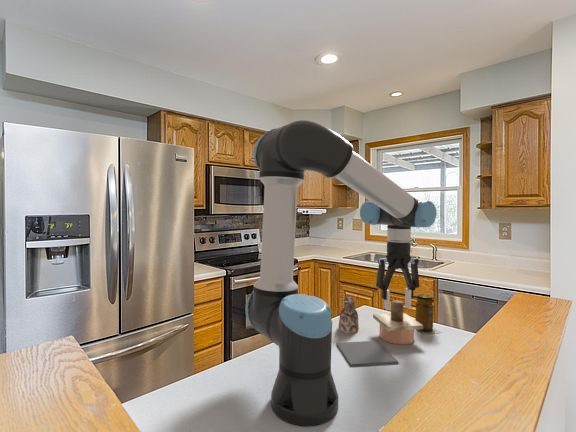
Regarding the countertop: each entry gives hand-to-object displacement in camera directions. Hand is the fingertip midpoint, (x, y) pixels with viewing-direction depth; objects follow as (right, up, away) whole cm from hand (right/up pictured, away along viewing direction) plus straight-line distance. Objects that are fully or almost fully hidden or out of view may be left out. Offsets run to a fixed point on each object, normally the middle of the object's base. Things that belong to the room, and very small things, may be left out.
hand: (397, 308), depth 109 cm
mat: (-14, -10, -12) cm, 21 cm away
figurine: (-15, -10, +7) cm, 20 cm away
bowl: (0, -10, 0) cm, 10 cm away
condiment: (+13, -10, +8) cm, 18 cm away
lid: (0, -5, 0) cm, 5 cm away
